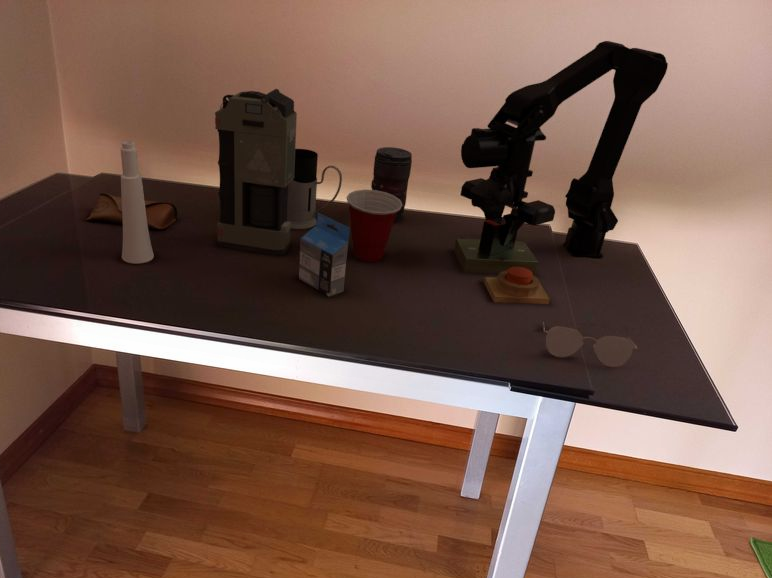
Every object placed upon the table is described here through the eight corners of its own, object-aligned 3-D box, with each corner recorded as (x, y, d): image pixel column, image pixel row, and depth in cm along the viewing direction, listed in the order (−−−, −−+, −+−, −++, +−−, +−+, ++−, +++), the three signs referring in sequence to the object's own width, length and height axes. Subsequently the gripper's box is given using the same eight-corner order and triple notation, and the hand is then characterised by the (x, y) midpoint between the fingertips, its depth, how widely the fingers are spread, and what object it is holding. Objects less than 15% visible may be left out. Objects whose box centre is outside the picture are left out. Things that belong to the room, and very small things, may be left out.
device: (293, 243, 143) (299, 91, 127) (282, 258, 136) (287, 99, 121) (228, 233, 146) (227, 83, 130) (215, 247, 139) (211, 91, 124)
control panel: (520, 253, 144) (523, 239, 143) (535, 277, 135) (539, 262, 133) (453, 250, 144) (455, 236, 142) (464, 274, 134) (467, 259, 133)
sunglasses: (538, 353, 110) (545, 324, 108) (537, 335, 118) (544, 308, 116) (631, 370, 107) (640, 340, 105) (624, 351, 115) (632, 323, 113)
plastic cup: (367, 272, 133) (374, 212, 126) (330, 253, 140) (334, 195, 133) (406, 259, 139) (414, 201, 133) (369, 241, 146) (375, 185, 139)
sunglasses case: (82, 219, 147) (87, 188, 147) (97, 225, 154) (102, 195, 154) (163, 230, 144) (168, 198, 144) (174, 235, 151) (179, 205, 151)
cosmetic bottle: (145, 248, 137) (136, 136, 125) (159, 259, 133) (151, 144, 121) (116, 255, 134) (104, 140, 122) (129, 266, 130) (118, 149, 118)
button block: (535, 284, 132) (539, 270, 130) (548, 304, 125) (552, 289, 123) (483, 282, 132) (486, 268, 130) (493, 302, 125) (496, 287, 123)
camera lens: (392, 227, 153) (400, 159, 145) (362, 217, 157) (368, 151, 149) (410, 217, 159) (419, 152, 151) (381, 208, 163) (387, 144, 155)
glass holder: (288, 211, 158) (291, 145, 150) (345, 224, 153) (351, 156, 145) (270, 223, 152) (271, 155, 144) (329, 237, 147) (334, 167, 139)
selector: (502, 243, 140) (508, 214, 137) (513, 248, 138) (520, 219, 135) (478, 250, 137) (484, 220, 134) (489, 255, 135) (495, 225, 132)
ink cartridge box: (297, 279, 129) (300, 216, 122) (313, 274, 131) (317, 211, 124) (328, 297, 123) (333, 232, 117) (345, 292, 125) (350, 227, 119)
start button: (526, 275, 129) (528, 267, 128) (533, 286, 125) (535, 277, 124) (503, 274, 129) (505, 266, 128) (509, 285, 125) (511, 276, 124)
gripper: (447, 156, 131) (434, 233, 139) (524, 185, 118) (506, 268, 127) (487, 149, 137) (473, 224, 145) (566, 176, 124) (545, 256, 132)
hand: (497, 242), depth 137 cm, fingers closed on selector, 3 cm apart
